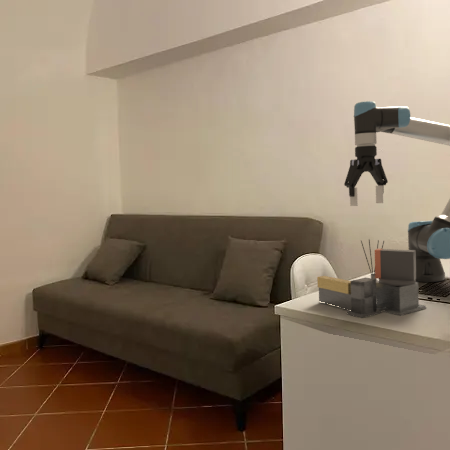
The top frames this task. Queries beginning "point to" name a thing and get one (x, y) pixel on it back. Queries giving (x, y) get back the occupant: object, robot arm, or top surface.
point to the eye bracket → (354, 298)
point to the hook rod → (334, 284)
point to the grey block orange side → (395, 267)
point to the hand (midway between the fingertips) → (367, 204)
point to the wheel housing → (398, 299)
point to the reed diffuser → (371, 261)
